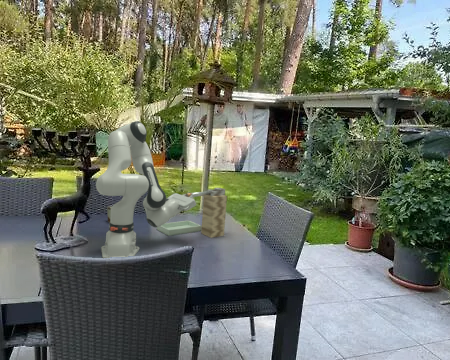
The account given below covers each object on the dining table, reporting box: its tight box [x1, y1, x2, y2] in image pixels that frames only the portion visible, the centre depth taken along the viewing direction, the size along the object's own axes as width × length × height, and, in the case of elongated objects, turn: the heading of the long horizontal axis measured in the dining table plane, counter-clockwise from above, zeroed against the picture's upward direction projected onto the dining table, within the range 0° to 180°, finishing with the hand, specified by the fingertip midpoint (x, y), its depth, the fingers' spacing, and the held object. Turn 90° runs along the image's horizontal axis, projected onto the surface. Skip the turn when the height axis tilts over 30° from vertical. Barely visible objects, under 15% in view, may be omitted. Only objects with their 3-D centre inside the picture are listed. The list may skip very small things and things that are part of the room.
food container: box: [106, 205, 113, 223], centre depth 234 cm, size 12×6×10 cm, turn 47°
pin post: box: [200, 187, 228, 239], centre depth 225 cm, size 10×10×29 cm
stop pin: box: [185, 190, 211, 198], centre depth 215 cm, size 18×2×2 cm, turn 130°
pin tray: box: [156, 220, 202, 237], centre depth 229 cm, size 24×14×4 cm, turn 130°
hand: (192, 193), depth 211 cm, fingers closed on stop pin, 2 cm apart
